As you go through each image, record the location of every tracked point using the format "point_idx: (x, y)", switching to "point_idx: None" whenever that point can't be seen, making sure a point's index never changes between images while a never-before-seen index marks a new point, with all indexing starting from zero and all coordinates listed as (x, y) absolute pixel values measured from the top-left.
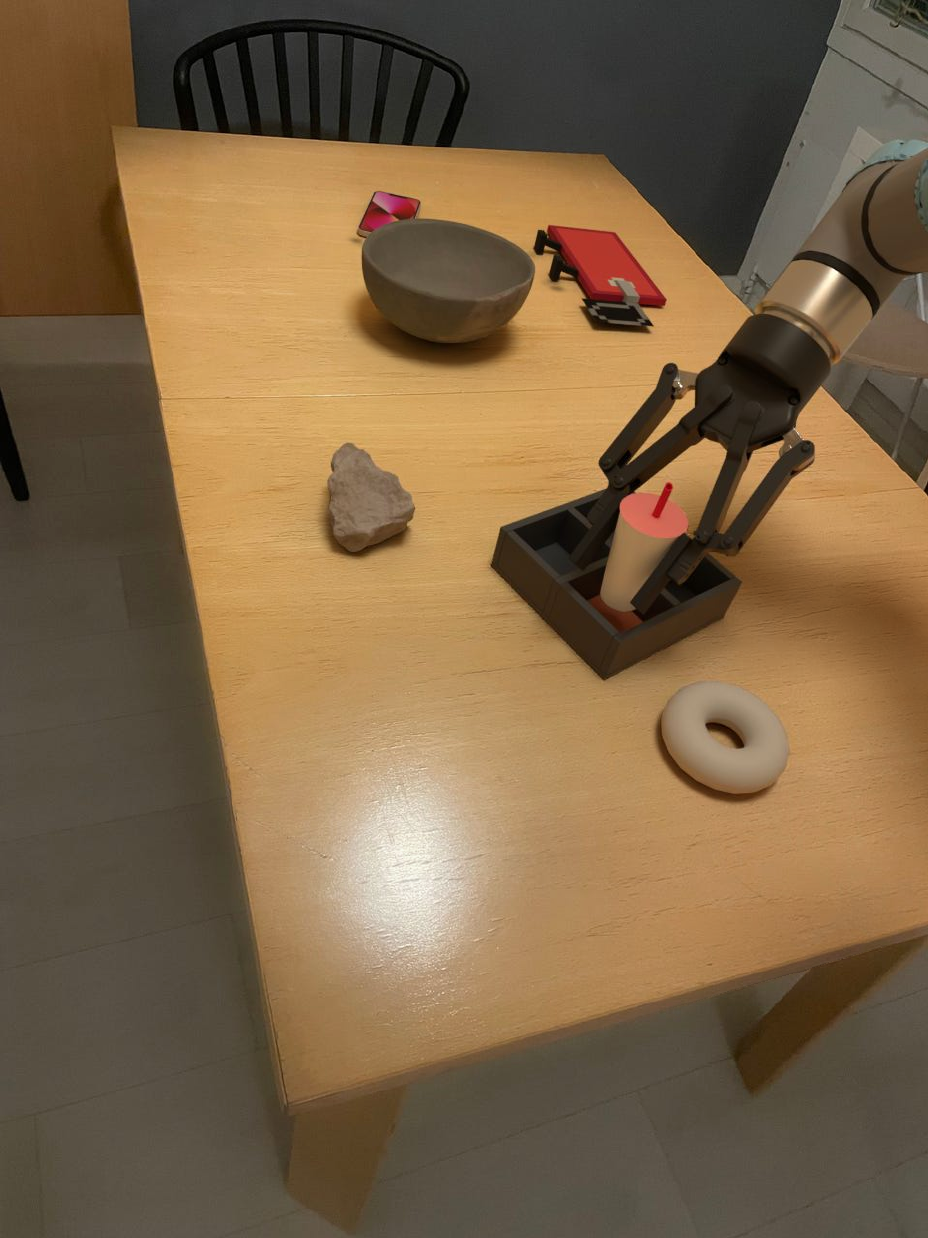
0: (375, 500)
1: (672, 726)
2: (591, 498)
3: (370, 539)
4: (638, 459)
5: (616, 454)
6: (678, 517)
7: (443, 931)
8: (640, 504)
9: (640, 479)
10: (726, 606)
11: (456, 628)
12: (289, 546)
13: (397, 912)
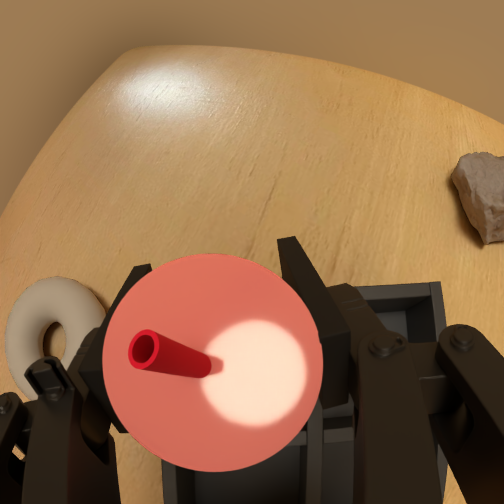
0: (494, 181)
1: (77, 287)
2: (440, 463)
3: (457, 177)
4: (415, 423)
5: (473, 369)
6: (158, 426)
7: (124, 93)
8: (265, 358)
9: (357, 430)
10: None
11: (334, 206)
12: (462, 146)
13: (147, 80)
